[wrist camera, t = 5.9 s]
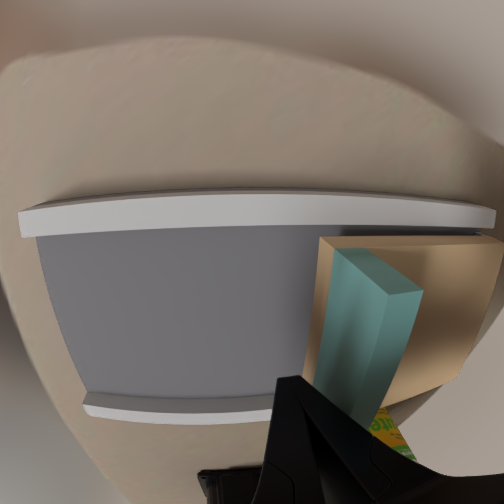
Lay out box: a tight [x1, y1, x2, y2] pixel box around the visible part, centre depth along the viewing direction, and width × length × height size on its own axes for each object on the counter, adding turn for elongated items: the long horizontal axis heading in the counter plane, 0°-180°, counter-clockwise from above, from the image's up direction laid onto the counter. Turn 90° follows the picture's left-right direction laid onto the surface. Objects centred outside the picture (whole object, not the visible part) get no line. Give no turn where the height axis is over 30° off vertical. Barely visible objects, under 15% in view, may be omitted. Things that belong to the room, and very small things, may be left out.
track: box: [18, 188, 497, 425], centre depth 11 cm, size 11×22×2 cm, turn 89°
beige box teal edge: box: [302, 236, 504, 430], centre depth 9 cm, size 8×10×5 cm
